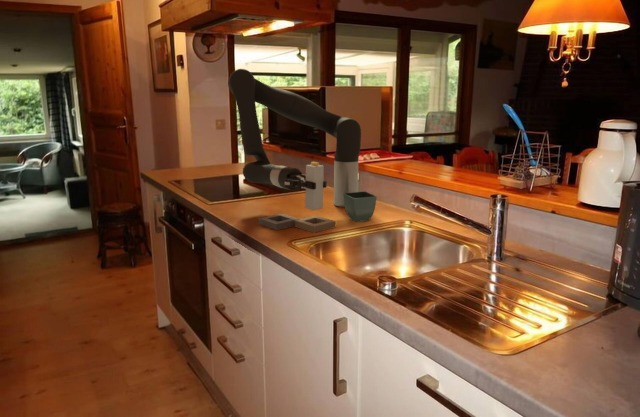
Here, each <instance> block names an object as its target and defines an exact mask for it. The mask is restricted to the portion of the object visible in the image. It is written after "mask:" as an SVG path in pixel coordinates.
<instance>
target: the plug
mask: <svg viewBox="0 0 640 417" xmlns="http://www.w3.org/2000/svg"><path fill="white" fill-rule="evenodd" d="M324 168H325V167H324V165H323V164H320V162H317V161H311V162H310V164H305V174H306V180H307V181H310V182H315V183H316V189H314V190H313V189H309V188H306V189H305V194H304V195H305V198H304V199H305V200H304V201H305V203H304V205H305V206H304V207H305V209H308V210H311V211H316V210H317V211H319V210H323V209H324V188H323V180H324V176H325V175H324V174H325V173H324V172H325V171H324V170H325V169H324Z"/></svg>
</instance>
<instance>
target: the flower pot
mask: <svg viewBox="0 0 640 417" xmlns="http://www.w3.org/2000/svg"><path fill="white" fill-rule="evenodd" d="M343 196H344V205H345V207H344V210H345V212H346V214H347V216H348V217H349V219H350V220H352V221H353V222H355V223H360V222H367V221H368V222H369V221H370V220H371V218H372V217H373V216H374V213H375V209H376V205H377V198H378V197H377V195H375V194H372V193H370V192H368V191H366V190H365V191H359V192H353V193H343Z"/></svg>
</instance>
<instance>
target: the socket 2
mask: <svg viewBox="0 0 640 417" xmlns="http://www.w3.org/2000/svg"><path fill="white" fill-rule="evenodd" d="M298 219H299V220H295V221H294V226H293V227H295V228H297V229H298V228H299V229H301V230H305V231H307V232H310V233H318V232H323V231H325V230H329V229H333V228H336V222H337V221H336V220H334V219H330V218H327V217H321V216H319V215H313V216H308V217H304V218H298Z"/></svg>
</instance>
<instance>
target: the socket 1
mask: <svg viewBox="0 0 640 417" xmlns="http://www.w3.org/2000/svg"><path fill="white" fill-rule="evenodd" d="M299 219H300V218H298V217H294V216H290V215H287V214H284V213H278V214H273V215H269V216H263V217H259V218H258V225H260V226H263V227H265V228H269V229H272V230H275V231H279V230H284V229H288V228H291V227H295V226H294V221H295V220H299Z"/></svg>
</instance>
